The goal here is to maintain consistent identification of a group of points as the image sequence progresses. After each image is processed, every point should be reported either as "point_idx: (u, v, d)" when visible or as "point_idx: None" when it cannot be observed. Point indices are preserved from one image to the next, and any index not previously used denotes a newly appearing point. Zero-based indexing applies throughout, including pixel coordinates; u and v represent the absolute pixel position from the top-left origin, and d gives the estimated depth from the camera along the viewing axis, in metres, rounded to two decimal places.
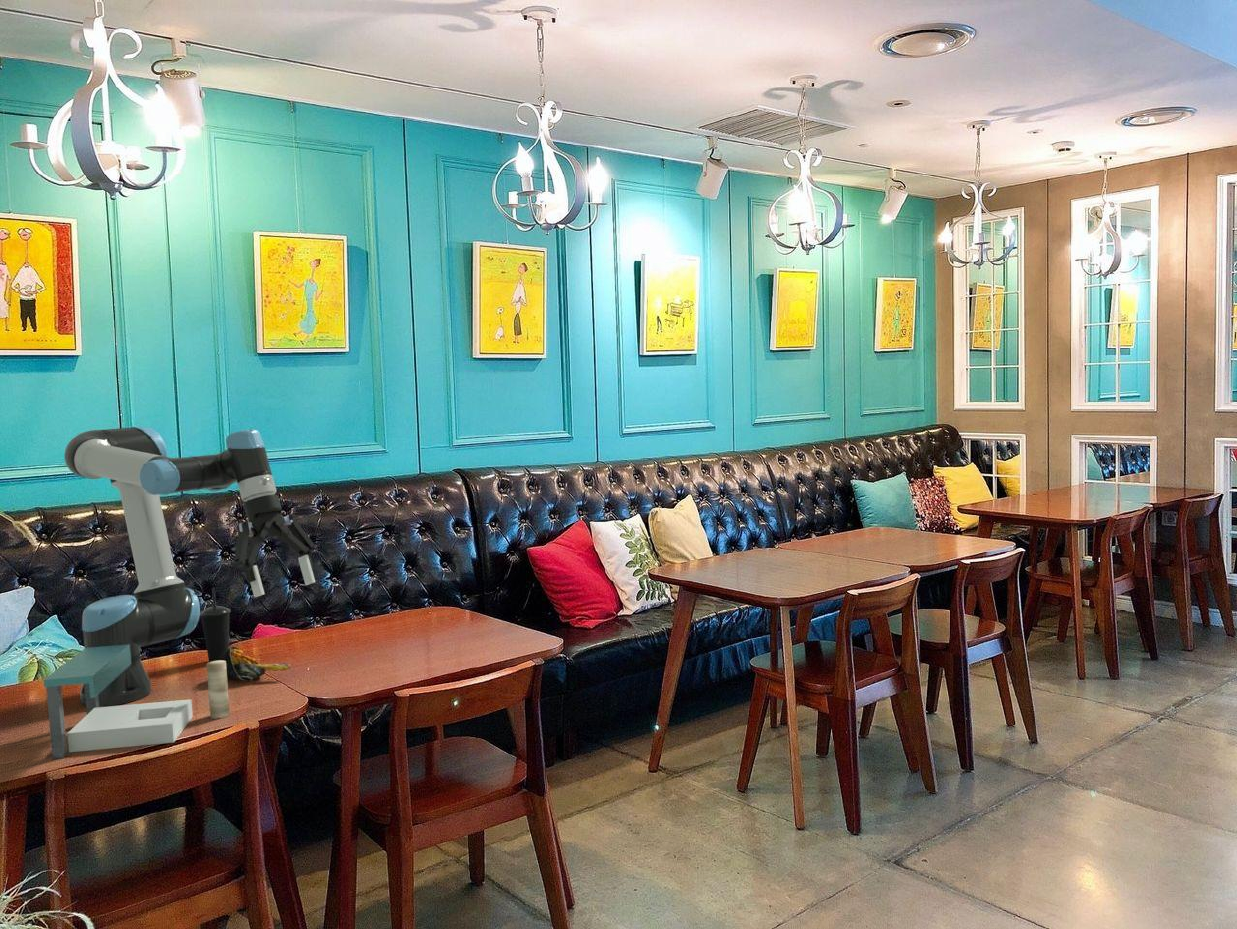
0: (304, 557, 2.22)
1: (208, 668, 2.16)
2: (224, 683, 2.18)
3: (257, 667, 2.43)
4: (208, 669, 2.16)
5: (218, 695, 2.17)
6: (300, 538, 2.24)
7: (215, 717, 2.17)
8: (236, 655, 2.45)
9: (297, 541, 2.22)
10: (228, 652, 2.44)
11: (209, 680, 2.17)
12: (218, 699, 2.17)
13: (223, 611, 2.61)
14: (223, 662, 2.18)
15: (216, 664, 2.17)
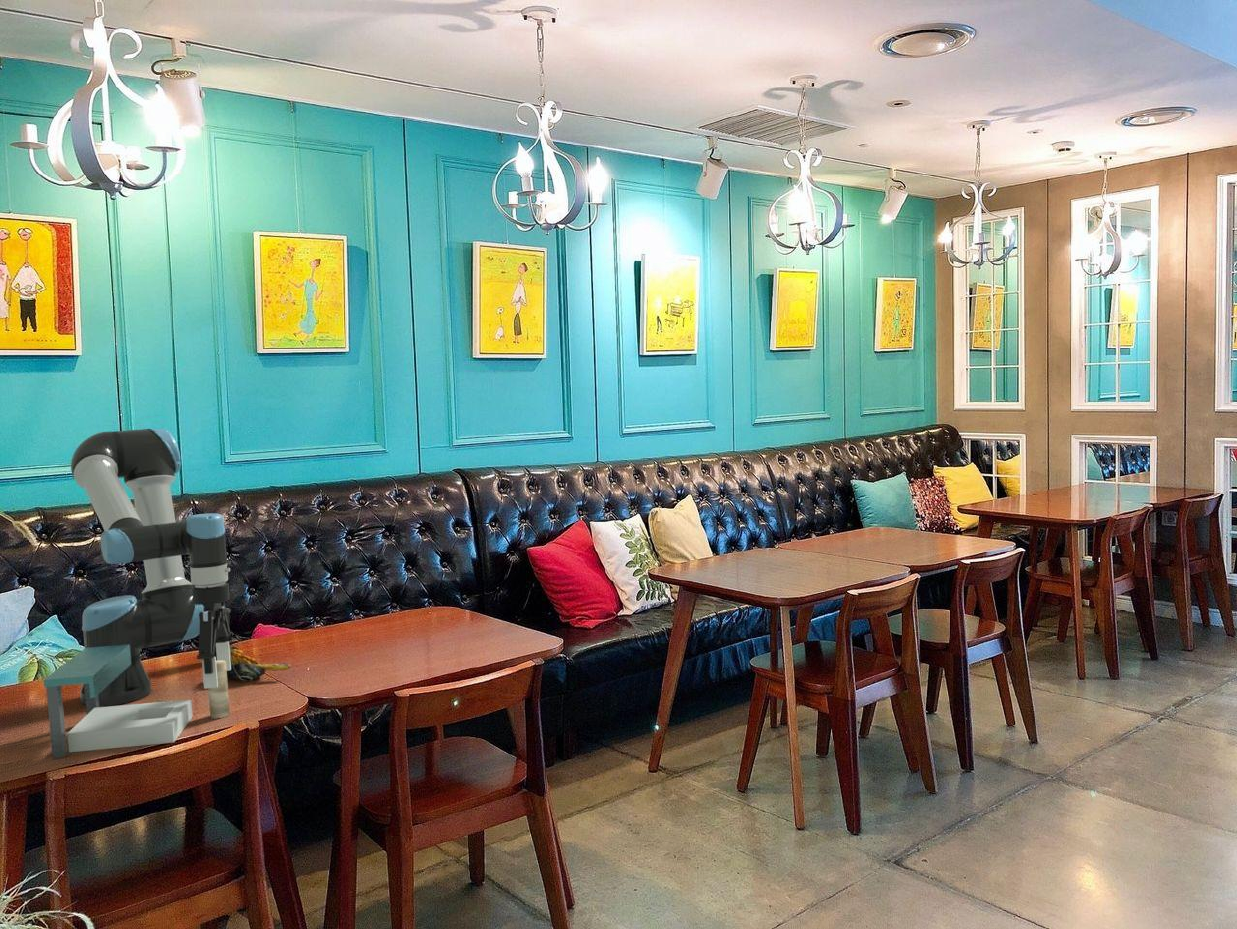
0: (226, 644, 2.24)
1: None
2: (224, 683, 2.18)
3: (257, 667, 2.43)
4: None
5: (218, 695, 2.17)
6: None
7: (215, 717, 2.17)
8: (236, 655, 2.45)
9: (225, 628, 2.23)
10: None
11: None
12: (218, 699, 2.17)
13: None
14: (223, 662, 2.18)
15: (216, 664, 2.17)
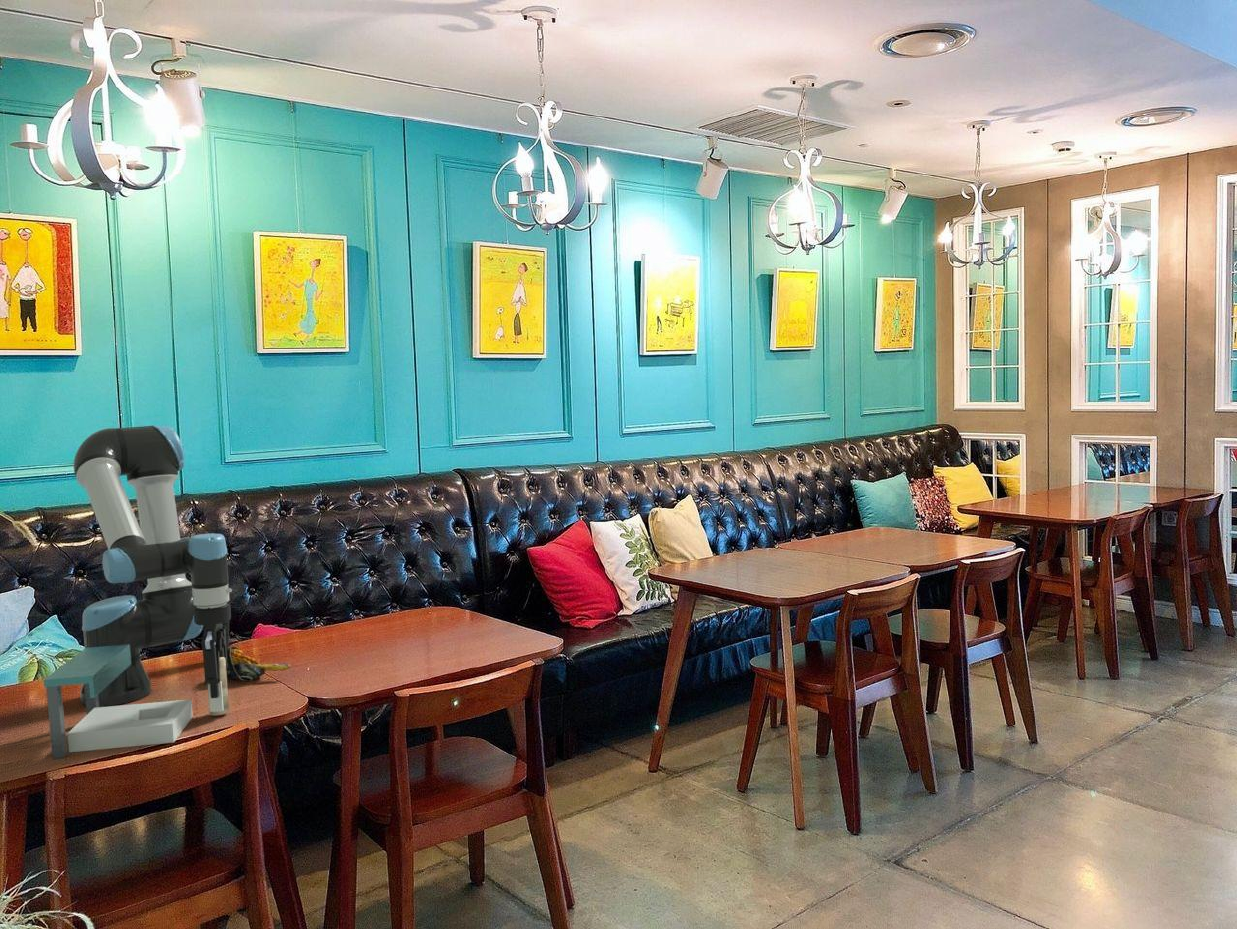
0: None
1: None
2: (224, 679, 2.18)
3: (257, 667, 2.43)
4: None
5: None
6: None
7: (214, 713, 2.17)
8: (236, 655, 2.45)
9: (224, 657, 2.21)
10: (228, 652, 2.44)
11: None
12: None
13: None
14: (222, 659, 2.18)
15: None
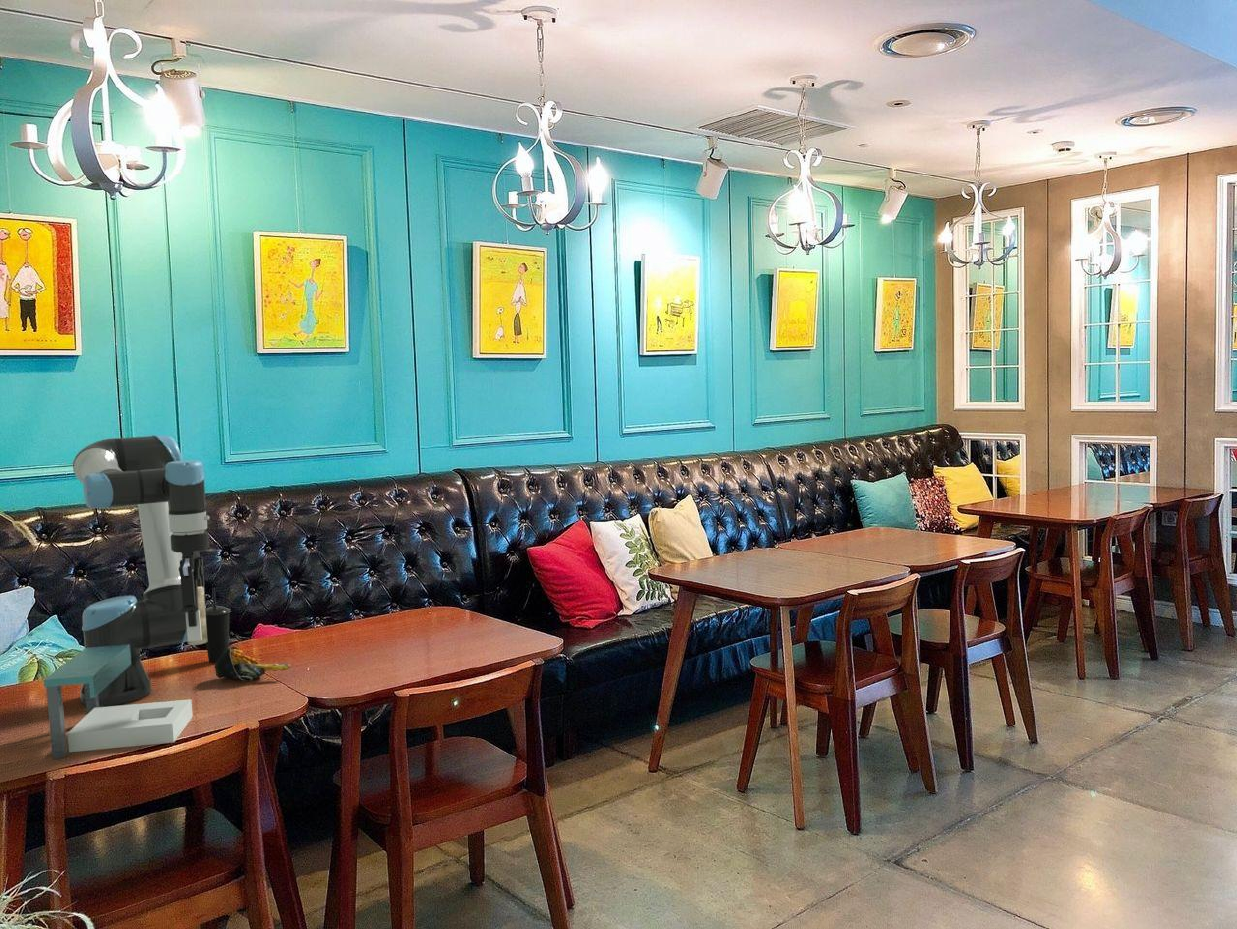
0: None
1: None
2: (202, 608, 2.14)
3: (257, 667, 2.43)
4: None
5: None
6: None
7: (192, 643, 2.13)
8: (236, 655, 2.45)
9: None
10: (228, 652, 2.44)
11: None
12: None
13: (223, 611, 2.61)
14: (201, 588, 2.14)
15: None
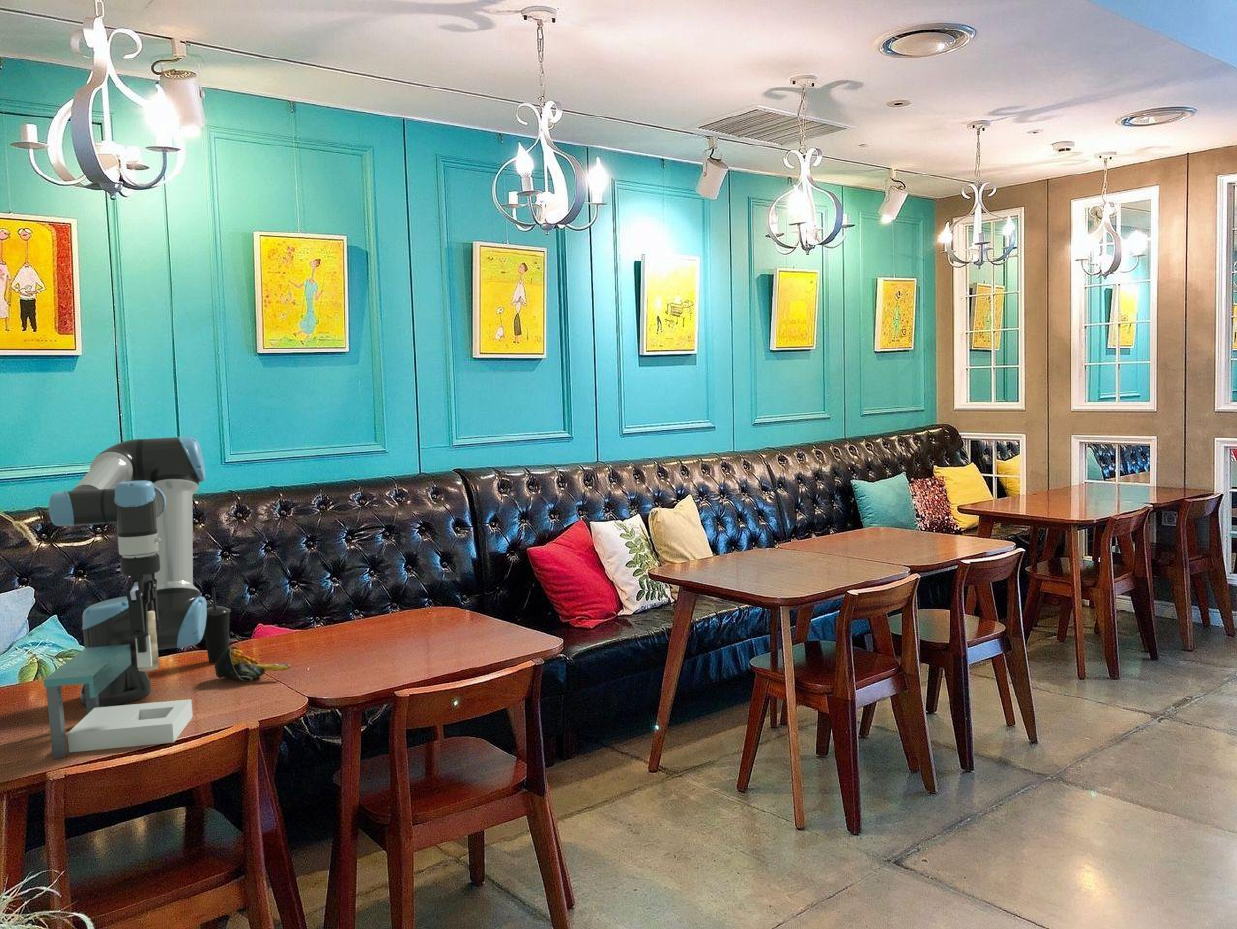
0: None
1: None
2: (153, 633, 2.07)
3: (257, 667, 2.43)
4: None
5: None
6: None
7: (143, 669, 2.07)
8: (236, 655, 2.45)
9: None
10: (228, 652, 2.44)
11: None
12: None
13: (223, 611, 2.61)
14: (151, 612, 2.08)
15: None
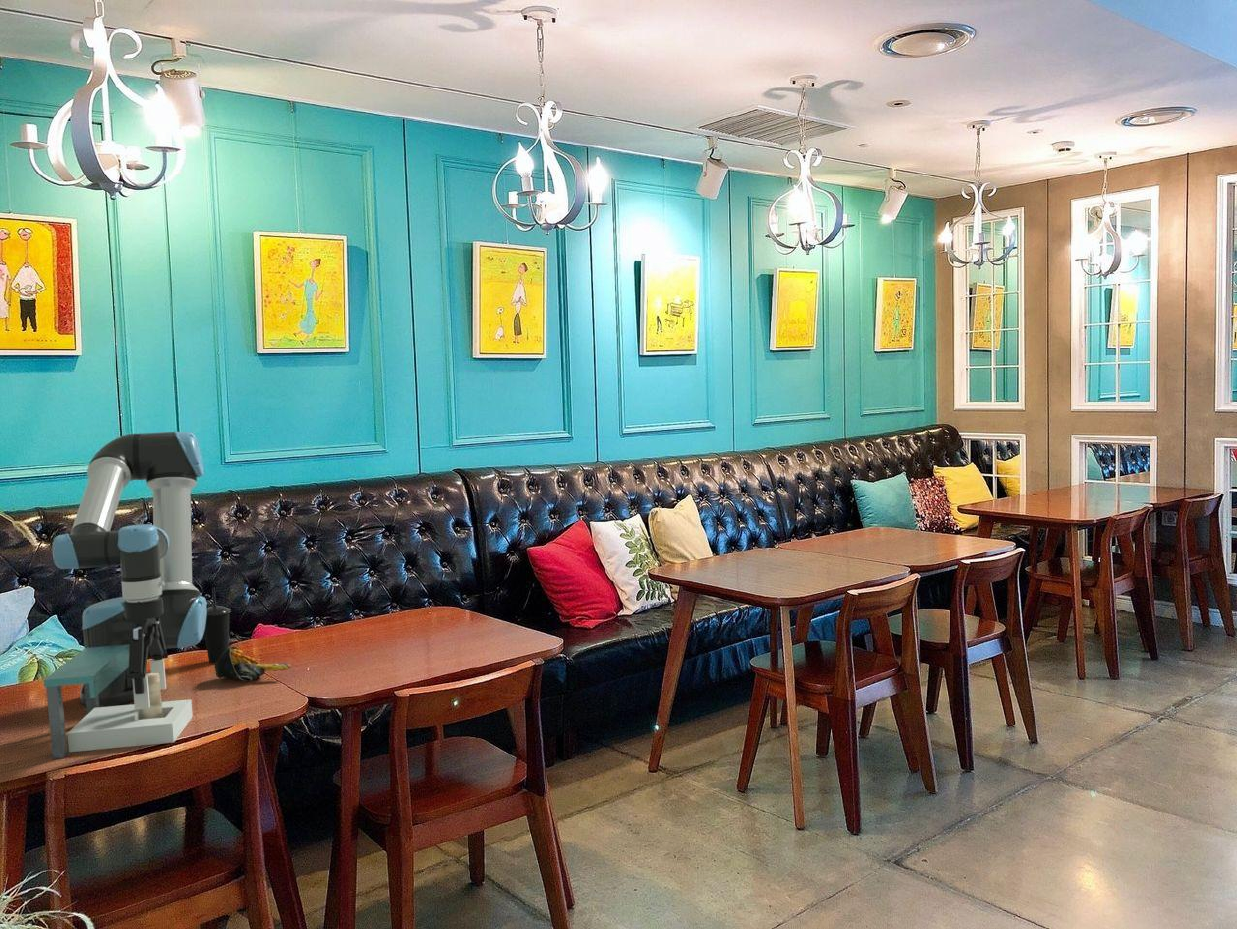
0: (161, 662, 2.15)
1: None
2: (157, 696, 2.09)
3: (257, 667, 2.43)
4: None
5: (151, 709, 2.08)
6: None
7: None
8: (236, 655, 2.45)
9: (160, 645, 2.14)
10: (228, 652, 2.44)
11: None
12: (151, 713, 2.08)
13: (223, 611, 2.61)
14: (156, 674, 2.09)
15: (148, 676, 2.08)
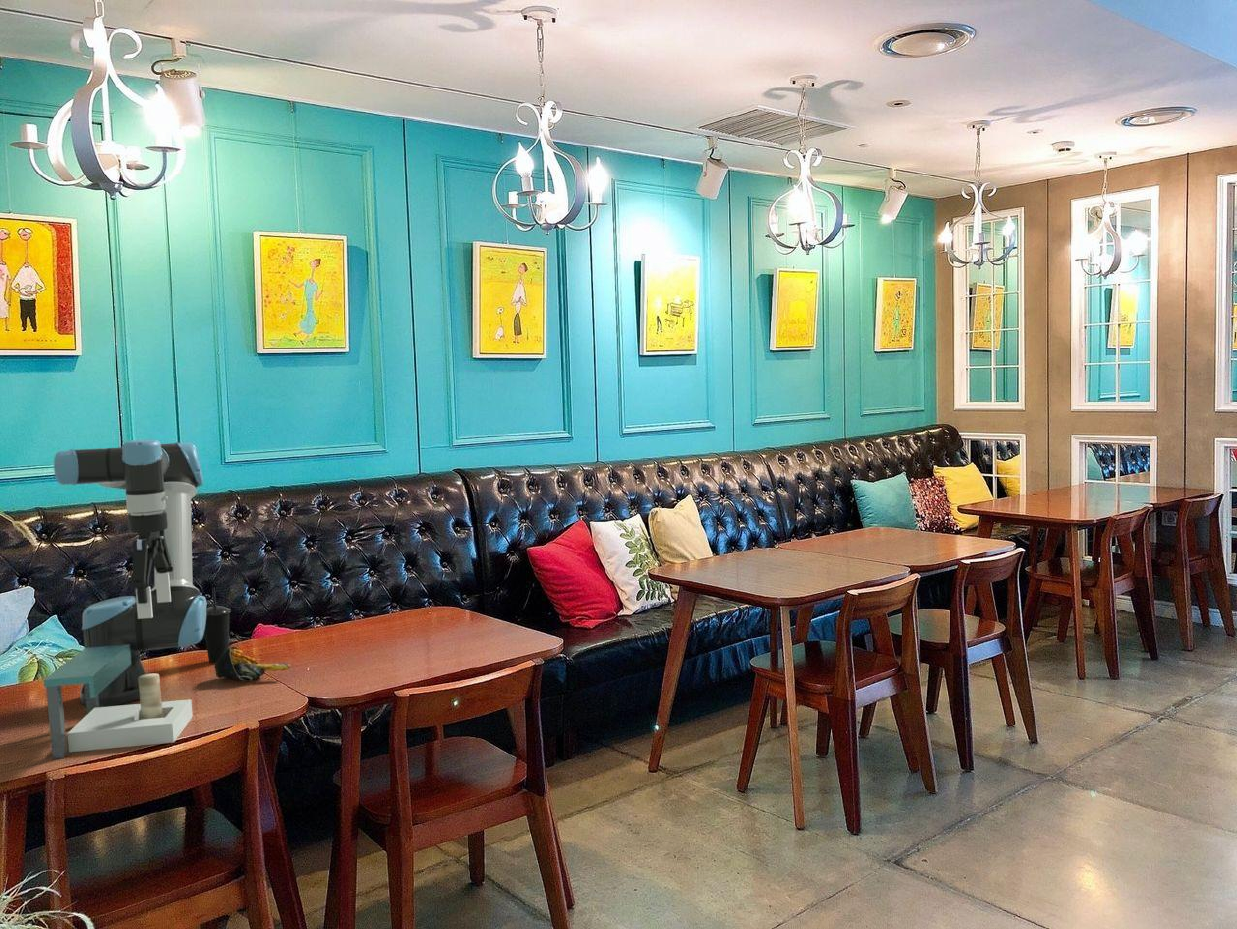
0: (166, 575, 2.18)
1: (139, 682, 2.07)
2: (157, 697, 2.08)
3: (257, 667, 2.43)
4: (140, 683, 2.07)
5: (151, 710, 2.07)
6: None
7: None
8: (236, 655, 2.45)
9: (164, 559, 2.17)
10: (228, 652, 2.44)
11: (141, 694, 2.07)
12: (151, 714, 2.08)
13: (223, 611, 2.61)
14: (156, 675, 2.09)
15: (148, 678, 2.07)
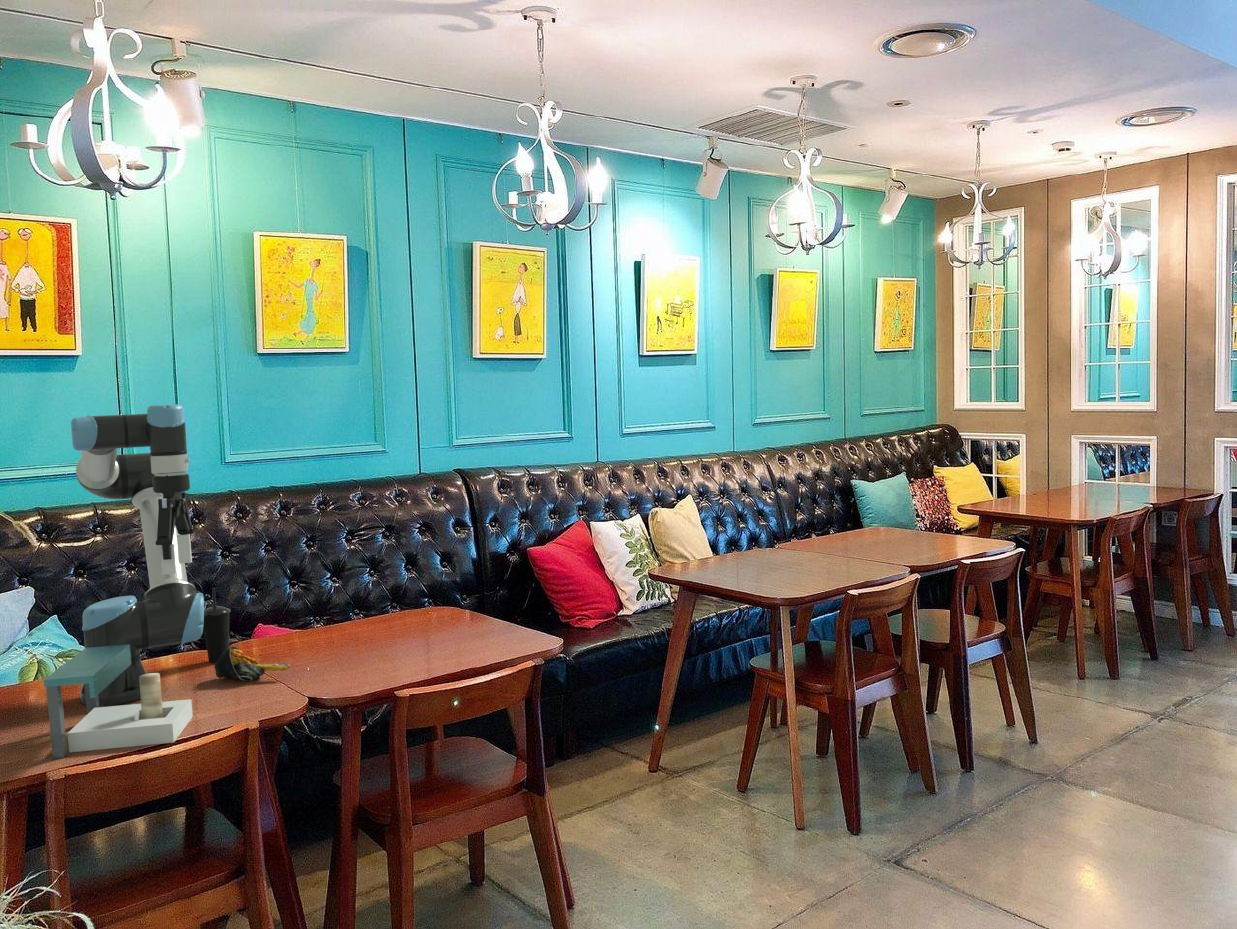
0: (187, 536, 2.26)
1: (140, 681, 2.08)
2: (157, 696, 2.09)
3: (257, 667, 2.43)
4: (140, 682, 2.08)
5: (151, 710, 2.08)
6: None
7: None
8: (236, 655, 2.45)
9: (186, 520, 2.25)
10: (228, 652, 2.44)
11: (141, 693, 2.08)
12: (151, 713, 2.08)
13: (223, 611, 2.61)
14: (156, 675, 2.09)
15: (149, 677, 2.08)
